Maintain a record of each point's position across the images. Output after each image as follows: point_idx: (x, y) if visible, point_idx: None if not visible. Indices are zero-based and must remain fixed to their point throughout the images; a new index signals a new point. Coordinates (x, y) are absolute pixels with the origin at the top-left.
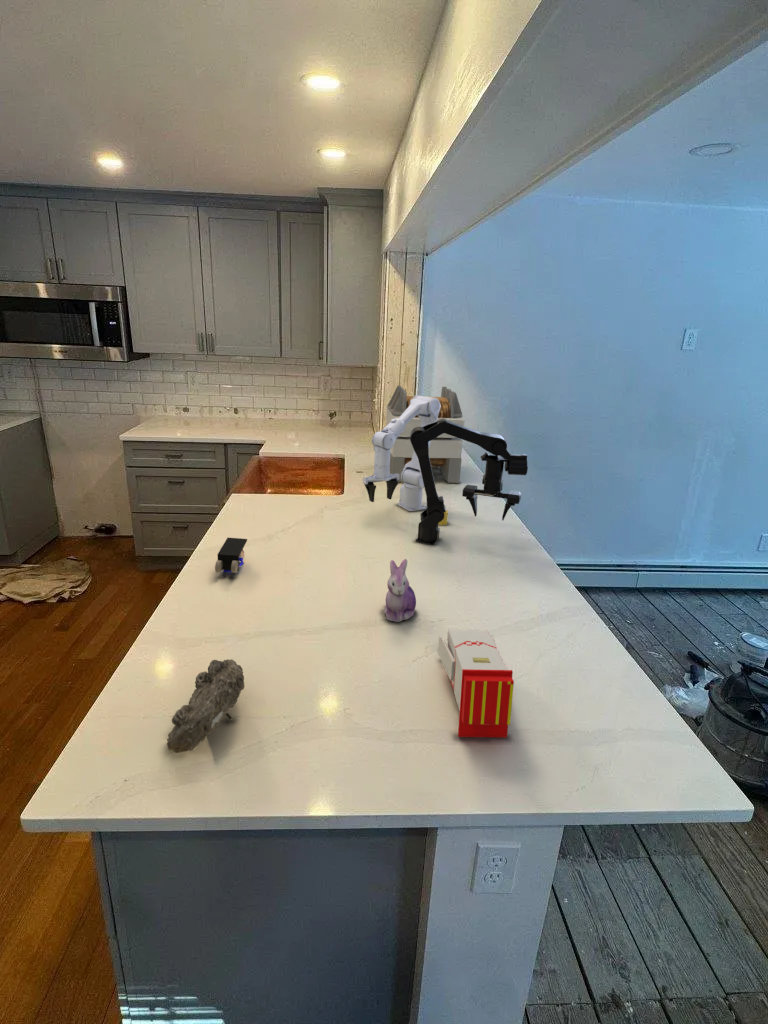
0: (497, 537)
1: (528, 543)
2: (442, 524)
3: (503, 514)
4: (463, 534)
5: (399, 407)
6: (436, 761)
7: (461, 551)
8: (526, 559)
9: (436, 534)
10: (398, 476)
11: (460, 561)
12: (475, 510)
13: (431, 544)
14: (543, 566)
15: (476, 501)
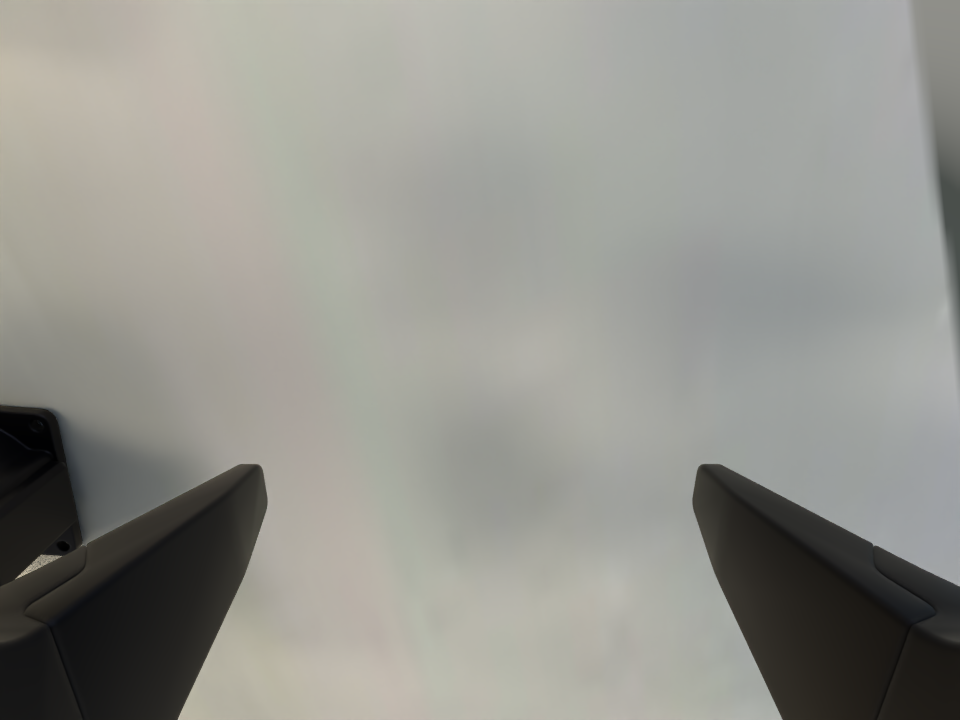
0: (563, 98)
1: (901, 128)
2: None
3: (753, 638)
4: (200, 180)
5: None
6: None
7: (324, 556)
8: (827, 502)
9: (22, 571)
10: None
11: (369, 691)
12: (213, 638)
13: (66, 551)
14: (941, 564)
15: (68, 687)
